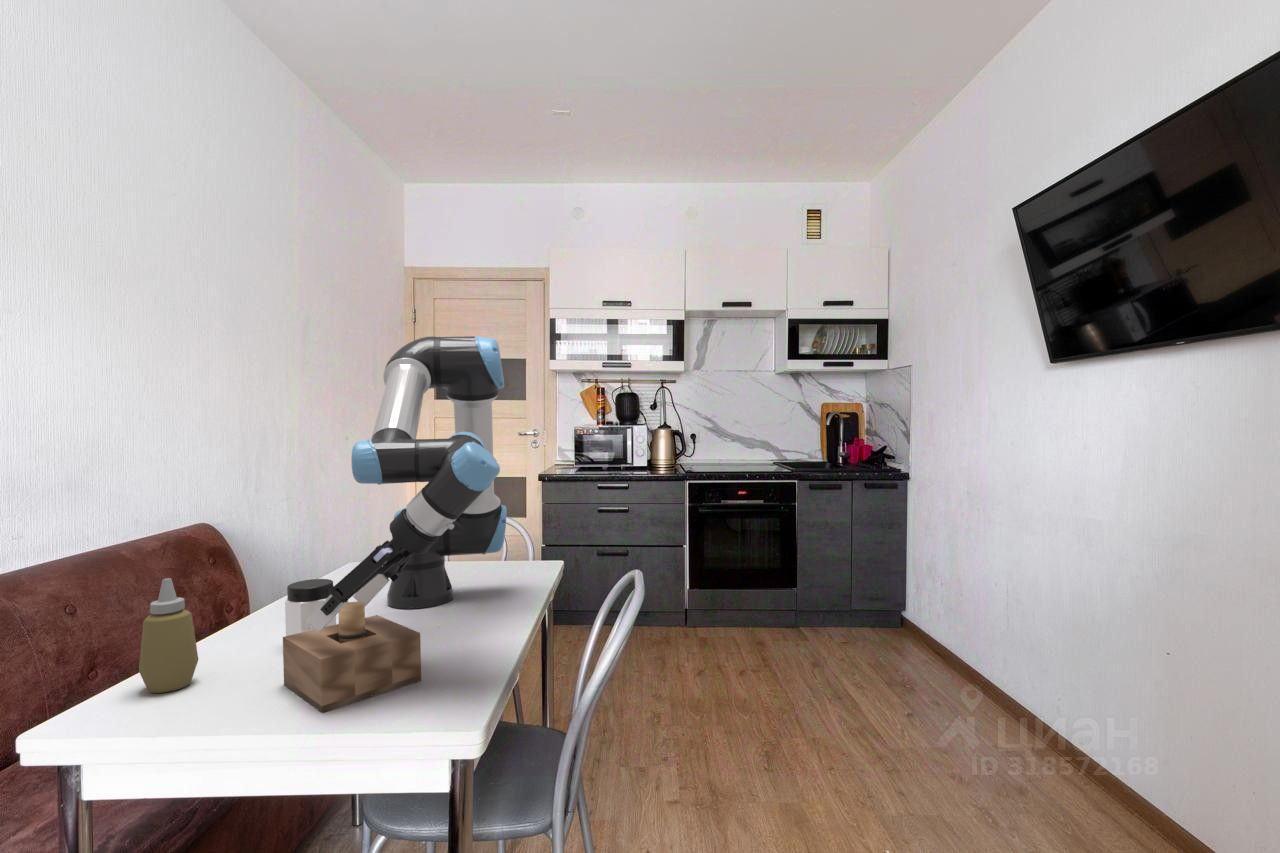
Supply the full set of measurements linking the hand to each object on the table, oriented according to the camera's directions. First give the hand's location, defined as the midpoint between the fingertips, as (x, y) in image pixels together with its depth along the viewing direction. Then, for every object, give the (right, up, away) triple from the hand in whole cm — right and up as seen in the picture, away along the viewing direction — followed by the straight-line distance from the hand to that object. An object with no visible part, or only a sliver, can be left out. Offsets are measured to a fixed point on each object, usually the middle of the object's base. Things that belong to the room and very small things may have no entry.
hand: (337, 612), depth 110 cm
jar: (-14, -12, +20) cm, 27 cm away
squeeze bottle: (-28, -12, 0) cm, 31 cm away
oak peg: (+3, -11, 0) cm, 11 cm away
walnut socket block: (+3, -12, 0) cm, 12 cm away
